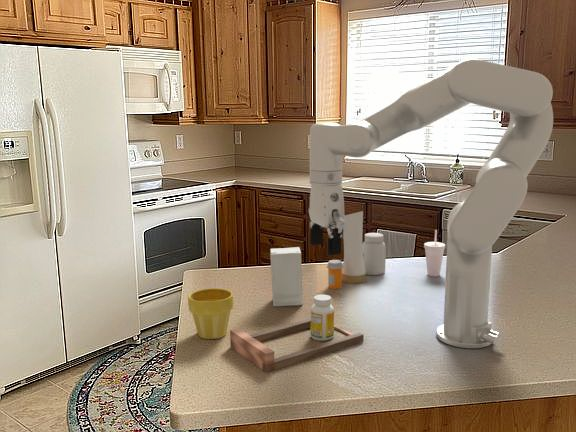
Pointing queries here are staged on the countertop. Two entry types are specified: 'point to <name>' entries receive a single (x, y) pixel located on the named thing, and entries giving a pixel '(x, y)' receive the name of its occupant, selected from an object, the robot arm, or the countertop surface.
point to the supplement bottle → (322, 318)
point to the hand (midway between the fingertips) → (325, 249)
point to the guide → (265, 356)
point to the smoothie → (434, 256)
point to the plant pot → (211, 311)
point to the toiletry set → (357, 254)
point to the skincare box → (286, 276)
